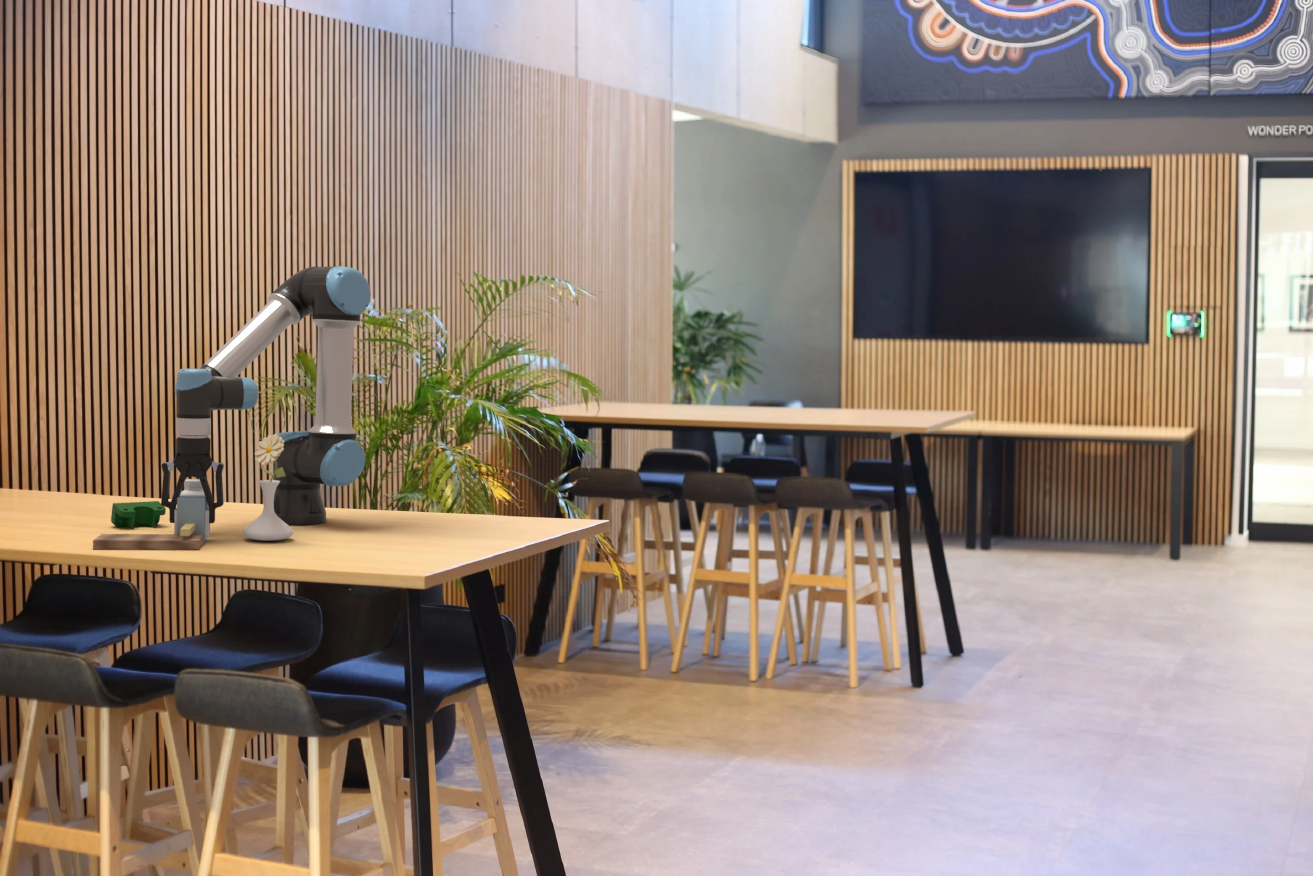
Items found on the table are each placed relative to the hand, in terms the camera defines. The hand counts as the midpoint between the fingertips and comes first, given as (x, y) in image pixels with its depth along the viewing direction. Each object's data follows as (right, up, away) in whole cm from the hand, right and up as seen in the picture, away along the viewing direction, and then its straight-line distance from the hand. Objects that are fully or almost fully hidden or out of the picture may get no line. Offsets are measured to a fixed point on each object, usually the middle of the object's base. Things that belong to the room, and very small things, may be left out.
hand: (192, 537), depth 330 cm
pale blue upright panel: (+1, -1, -5) cm, 5 cm away
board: (-6, -1, -10) cm, 12 cm away
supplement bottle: (-3, 0, +11) cm, 12 cm away
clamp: (-19, +1, +20) cm, 28 cm away
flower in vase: (+16, -1, +5) cm, 17 cm away
